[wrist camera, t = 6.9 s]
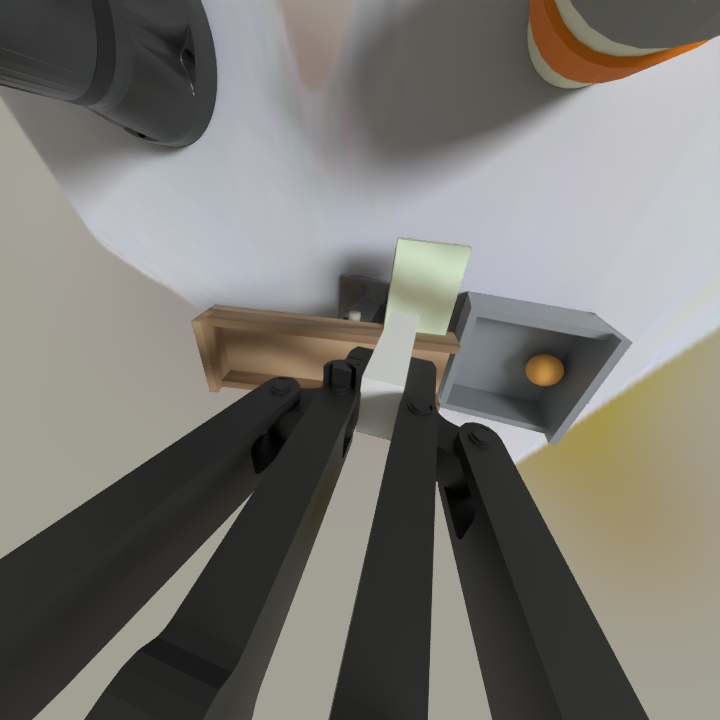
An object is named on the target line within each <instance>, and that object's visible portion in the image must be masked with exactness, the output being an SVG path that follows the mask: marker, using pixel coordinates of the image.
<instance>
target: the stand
mask: <svg viewBox="0 0 720 720" xmlns="http://www.w3.org/2000/svg"><path fill="white" fill-rule="evenodd" d="M389 288H390V282H387V281H381V280H375V279H370V278H364V277H358V276H352V275H347V274H343V275H341V292H340V309H339V319H344V320H348V319H349V311H352V310H355V311H359V312H361V317H360V321H361V322H370V323H379V324H384V319H385V313H386V307H387V300H388V294H389Z"/></svg>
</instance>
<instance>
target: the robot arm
mask: <svg viewBox="0 0 720 720" xmlns="http://www.w3.org/2000/svg"><path fill="white" fill-rule="evenodd" d="M0 85H1V86H5V87H9V88H13V89H17V90H21V91H26V92H30V93H34V94H38V95H42V96H46V97H50V98H54V99H59V100H63V101H67V102H70V103H74V104H78V105H82V106H84V107H86V108H88V109H89V110H91V111H93V112H94V113H96V114H98V115H100V116H101V117H103V118H105V119H107V120H108V121H110V122H112V123H113V124H115V125H117V126H119V127H121V128H123V129H125V130H126V131H127V132H129V133H131V134H132V135H134V136H136V137H138V138H140V139H142V140H144V141H147V142H150V143H153V144H158V145H163V146H168V147H183V146H186V145H189V144H191V143H193V142H194V141H196V140H197V139H198V138H199V137H200V136H201V135H202V133H203V132H204V131H205V129H206V127H207V125H208V123H209V121H210V119H211V116H212V113H213V109H214V105H215V99H216V91H217V65H216V56H215V49H214V43H213V38H212V34H211V30H210V26H209V23H208V19H207V16H206V13H205V10H204V8H203V5H202V3H201V0H0ZM418 321H419V316H418V315H413V314H408V313H403V312H397V311H392V313H391V315H390V317H389V319H388V322H387V324H386V326H385V328H384V330H383V332H382V335H381V337H380V339H379V341H378V343H377V345H376V348H375V350H374V349H369V348H365V347H360V346H357V347H356V348H354V349H352V350H351V351H350V352H349V354H348V356H347V357H346V359H345V360H342V359H338V360H332V361H329V362H327V363H326V364H325V365H324V367H323V385H322V387H319V388H300V385H299V383H298V381H297V380H295V379H294V378H291V377H283V376H280V377H275V378H272V379H270V380H268V381H266V382H265V383H263V384H262V385H260V386H259V387H257V388H256V389H254V390H253V391H251V392H250V393H248V394H247V395H245V396H244V397H243V398H241V399H239V400H238V401H236V402H235V403H233V404H232V405H230V406H229V407H227V408H226V409H224V410H223V411H222V412H220V413H218V414H217V415H215V416H214V417H212V418H211V419H209V420H208V421H206V422H205V423H203V424H202V425H200V426H199V427H197V428H196V429H194V430H193V431H191V432H190V433H188V434H187V435H185V436H184V437H182V438H181V439H179V440H178V441H176V442H175V443H173V444H172V445H170V446H169V447H167V448H166V449H164V450H163V451H161V452H160V453H158V454H157V455H155V456H154V457H152V458H151V459H149V460H148V461H147V462H145V463H143V464H142V465H141V466H139V467H137V468H136V469H135V470H133V471H132V472H130V473H128V474H127V475H125V476H124V477H122V478H121V479H119V480H118V481H117V482H115V483H114V484H112V485H111V486H109V487H108V488H106V489H105V490H103V491H102V492H100V493H99V494H97V495H96V496H94V497H93V498H91V499H90V500H88V501H87V502H85V503H84V504H82V505H81V506H79V507H78V508H76V509H75V510H73V511H72V512H70V513H69V514H67V515H66V516H64V517H63V518H61V519H60V520H58V521H57V522H55V523H54V524H53V525H51V526H50V527H48V528H46V529H45V530H43V531H42V532H40V533H39V534H37V535H36V536H34V537H33V538H31V539H30V540H28V541H27V542H25V543H24V544H22V545H21V546H19V547H18V548H16V549H15V550H13V551H12V552H10V553H9V554H8V555H6V556H4V557H3V558H1V559H0V720H32V719H33V718H34V717H35V716H36V715H37V714H38V713H39V712H40V711H41V710H42V709H43V708H45V707H46V705H47V704H49V703H50V701H51V700H53V699H54V698H55V697H56V696H57V695H58V694H59V693H60V692H61V691H62V690H63V689H64V688H65V687H66V686H67V685H68V684H69V683H70V682H71V681H72V680H73V679H74V678H75V677H76V675H77V674H78V673H79V672H80V671H81V670H82V669H83V668H84V667H85V666H86V665H87V664H88V663H89V662H90V661H91V660H92V659H93V658H94V657H95V656H96V655H97V653H99V652H100V651H101V649H102V648H103V647H104V646H105V645H106V644H107V643H108V642H109V641H110V640H111V639H112V638H113V637H114V636H115V635H116V634H117V633H118V632H119V631H120V630H121V629H122V628H123V627H124V626H125V624H126V623H127V622H128V621H129V620H130V619H131V618H132V617H133V616H134V615H135V614H136V613H137V612H138V611H139V610H140V609H141V608H142V607H143V606H144V605H145V604H146V603H147V602H148V601H149V600H150V598H151V597H152V596H153V595H154V594H155V593H156V592H157V591H158V590H159V589H160V588H161V587H162V586H163V585H164V584H165V583H166V582H167V581H168V580H169V579H170V578H171V577H172V576H173V575H174V574H175V573H176V571H178V569H179V568H180V567H181V566H182V565H183V564H184V563H185V562H186V561H187V560H188V559H189V558H190V557H191V556H192V555H193V554H194V553H195V552H196V551H197V550H198V549H199V548H200V546H201V545H203V543H204V542H205V541H206V540H207V539H208V538H209V537H210V536H211V535H212V534H213V533H214V532H215V531H216V530H217V529H218V528H219V527H220V526H221V525H222V524H223V523H224V522H225V521H226V520H227V519H228V517H229V516H230V515H231V514H232V513H233V512H234V511H235V510H236V509H237V508H238V507H239V506H240V505H241V504H242V503H243V502H244V501H245V500H246V499H247V498H248V497H249V496H250V495H251V494H252V493H253V494H252V495H251V497H250V498H249V500H248V501H247V503H246V505H245V506H244V508H243V509H242V511H241V512H240V514H239V515H238V517H237V519H236V520H235V522H234V523H233V525H232V526H231V528H230V529H229V531H228V532H227V534H226V536H225V537H224V539H223V540H222V542H221V544H220V545H219V546H218V548H217V550H216V551H215V553H214V554H213V556H212V557H211V559H210V560H209V562H208V563H207V565H206V567H205V568H204V570H203V571H202V573H201V574H200V576H199V578H198V579H197V581H196V582H195V584H194V586H193V587H192V588H191V590H190V591H189V593H188V595H187V596H186V598H185V599H184V601H183V602H182V604H181V605H180V607H179V608H178V610H177V612H176V613H175V615H174V616H173V618H172V619H171V621H170V622H169V624H168V625H167V626H166V628H165V629H164V630H163V631H162V632H161V633H160V634H159V635H158V636H157V637H156V638H155V639H153V640H152V641H150V642H149V643H148V644H146V645H145V646H143V647H142V648H141V649H139V650H138V651H137V652H136V653H135V654H134V655H133V656H132V657H131V658H130V659H129V660H128V661H127V662H126V663H125V664H124V665H123V667H122V668H121V669H120V670H119V672H118V673H117V674H116V676H115V677H114V678H113V680H112V681H111V682H110V684H109V685H108V686H107V688H106V689H105V690H104V692H103V693H102V695H101V696H100V697H99V699H98V700H97V702H96V703H95V705H94V706H93V708H92V709H91V711H90V712H89V713H88V715H87V716H86V718H85V719H84V720H252V716H253V711H254V707H255V703H256V699H257V696H258V693H259V689H260V687H261V684H262V681H263V678H264V675H265V673H266V670H267V668H268V665H269V662H270V660H271V657H272V654H273V652H274V649H275V646H276V644H277V641H278V638H279V635H280V633H281V630H282V627H283V625H284V622H285V619H286V617H287V614H288V611H289V609H290V606H291V603H292V601H293V598H294V595H295V592H296V590H297V587H298V585H299V582H300V579H301V577H302V574H303V571H304V568H305V566H306V563H307V561H308V558H309V555H310V553H311V550H312V547H313V545H314V542H315V539H316V537H317V534H318V531H319V529H320V526H321V523H322V521H323V518H324V515H325V513H326V510H327V507H328V505H329V502H330V499H331V496H332V494H333V491H334V488H335V486H336V483H337V480H338V478H339V475H340V473H341V470H342V467H343V464H344V462H345V459H346V456H347V454H348V451H349V448H350V446H351V443H352V437H353V432H354V429H355V427H356V431H357V432H361V433H365V434H368V435H372V436H376V437H379V438H383V439H387V440H390V441H391V443H390V447H389V452H388V456H387V461H386V465H385V470H384V474H383V479H382V483H381V488H380V492H379V497H378V501H377V505H376V510H375V515H374V519H373V523H372V528H371V532H370V537H369V542H368V546H367V550H366V555H365V559H364V564H363V568H362V573H361V577H360V582H359V586H358V591H357V595H356V599H355V604H354V608H353V613H352V617H351V622H350V626H349V631H348V635H347V640H346V644H345V649H344V653H343V657H342V662H341V667H340V671H339V675H338V680H337V684H336V689H335V693H334V698H333V703H332V707H331V711H330V716H329V720H428V695H429V666H430V636H431V605H432V577H433V548H434V517H435V487H436V481H437V482H438V487H439V492H440V496H441V501H442V505H443V509H444V514H445V517H446V522H447V526H448V531H449V535H450V539H451V544H452V548H453V552H454V556H455V560H456V565H457V570H458V574H459V578H460V582H461V587H462V591H463V595H464V600H465V604H466V608H467V613H468V617H469V621H470V626H471V630H472V634H473V638H474V643H475V647H476V651H477V656H478V660H479V664H480V668H481V673H482V677H483V682H484V686H485V690H486V695H487V699H488V703H489V707H490V712H491V716H492V720H649V719H648V717H647V715H646V713H645V711H644V709H643V707H642V705H641V703H640V701H639V700H638V698H637V696H636V694H635V692H634V690H633V688H632V686H631V684H630V682H629V681H628V679H627V677H626V675H625V673H624V671H623V669H622V668H621V665H620V664H619V662H618V660H617V658H616V656H615V654H614V652H613V650H612V648H611V646H610V645H609V643H608V641H607V639H606V637H605V635H604V633H603V631H602V629H601V627H600V626H599V624H598V622H597V620H596V618H595V616H594V614H593V613H592V611H591V609H590V607H589V605H588V603H587V601H586V599H585V597H584V595H583V593H582V592H581V590H580V588H579V586H578V584H577V582H576V581H575V578H574V576H573V574H572V573H571V571H570V569H569V567H568V565H567V563H566V561H565V559H564V557H563V555H562V554H561V552H560V550H559V548H558V546H557V544H556V542H555V540H554V538H553V537H552V535H551V533H550V531H549V529H548V527H547V525H546V523H545V521H544V520H543V518H542V516H541V514H540V512H539V510H538V508H537V506H536V504H535V503H534V501H533V499H532V497H531V495H530V493H529V491H528V489H527V487H526V486H525V483H524V482H523V480H522V478H521V476H520V474H519V472H518V470H517V468H516V466H515V464H514V463H513V461H512V459H511V457H510V455H509V453H508V451H507V449H506V447H505V445H504V444H503V442H502V440H501V439H500V437H499V436H498V435H497V433H495V432H494V431H493V430H492V429H490V428H489V427H487V426H484V425H482V424H479V423H474V422H471V423H465V424H463V425H461V427H459V426H457V425H455V424H453V423H451V422H449V421H447V420H446V419H444V418H443V417H442V416H441V415H440V414H439V413H438V410H437V407H436V406H435V396H436V374H437V368H436V366H435V365H434V363H433V362H432V361H428V360H424V359H419V358H414V357H411V354H412V350H413V345H414V340H415V335H416V331H417V326H418ZM254 490H255V491H254Z"/></svg>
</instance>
